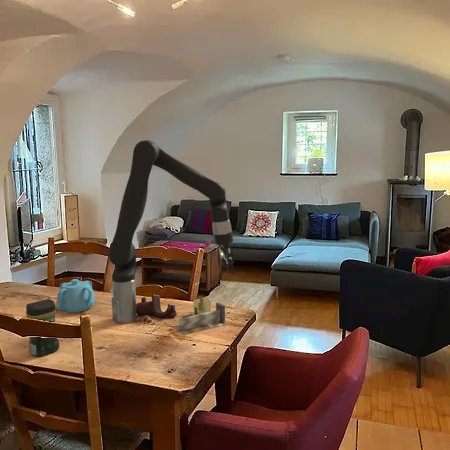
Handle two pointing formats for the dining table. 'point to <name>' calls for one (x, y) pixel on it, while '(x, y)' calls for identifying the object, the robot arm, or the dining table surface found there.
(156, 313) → the bracket
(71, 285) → the decorative pot
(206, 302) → the block with knob
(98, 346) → the dining table surface
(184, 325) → the rail
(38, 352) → the coffee jar
